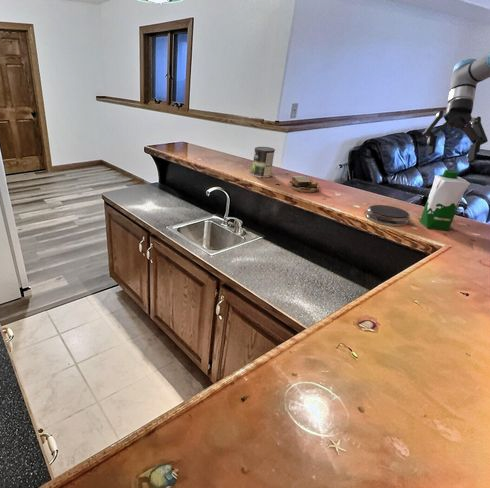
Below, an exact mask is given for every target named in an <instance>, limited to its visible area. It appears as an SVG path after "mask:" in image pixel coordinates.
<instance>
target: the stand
mask: <svg viewBox="0 0 490 488" xmlns="http://www.w3.org/2000/svg"><path fill="white" fill-rule="evenodd" d="M365 217H366V219H367V220H368V221H370V222H373V223H375V224H379V225H382V226H385V227H396V228H397V227H398V228H399V227H405V226H407V225H408V222H409V219H410V217H411V214H410V213H409V212H408V211H406V210H405V209H402V208H399V207H396V206H392V205H387V204H386V205H385V204H373V205H370V206H368V207H367V210H366V214H365Z"/></svg>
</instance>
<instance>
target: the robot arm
mask: <svg viewBox="0 0 490 488" xmlns="http://www.w3.org/2000/svg"><path fill="white" fill-rule="evenodd" d="M450 77H451V78H450V85H449V91H448V97H447V104H446V109H445V112H444V110H439V112H437V113H436V114H435V116H434V119H433V120H432V121H431V123H430V124H429V125H428V126H427V127H426V128H425V130H424V131H423V132H422V136H426V137H425V138H426V139H427V141H426V146H428V150H427V156H431V155H433V154H435V152H436V146H437V140H438V135H437V134H438V133H439V132H440V131H442V130H443V129H445V128H446V127H448V126H449V128H455V129H460V130H461V132H464V134H465V135H466V137H467V138H468V140H470V142H471V144H470V146H469V152H468V158H467V159H468V160H467V163H469V164H470V163H473V162H475V161H476V160H477V155H478V154H479V153H480V150H481V146H482V145H484V144H486V143H488V141H489V139H488V136H487V134H486V132H485V130H484V126H483V124H482V117H481V116H477V117H472V112H473V109H474V101H475V98H476V97H475V96H476V92H477V91H476V90H477V84H478V83H481V82H483V81H485V80H487V79H489V78H490V52H487V53H486V54H484V55H483V56H481V57H479V58H478V59H476V58H466V59H464V60H461V61H459V62H457V63H456V64H455V65H454V67H453V70H452V74H451V76H450ZM441 119H444V121H445V122H444V123H443V124H441V125H440V126H439V127H437V128H436V129H435V130H433V129H434V127H436V125H437V124H438V123H439V122H440V121H441ZM432 130H433V131H432Z"/></svg>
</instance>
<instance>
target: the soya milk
mask: <svg viewBox="0 0 490 488" xmlns="http://www.w3.org/2000/svg"><path fill="white" fill-rule="evenodd" d="M458 175H459V171H457V170H452V169H445V170H444V171H443V173H442V174H439V175H438V174H435V175H434V179H433V181H432V182H433V183H432V186H431V188H430V192H429V195H428V197H427V200H426V202H425V205H424V208H423V210H422V213H421V216H420V218H419V223H421V225H422V226H424V228H426V229H428V230H435V231H437V230H438V231H447V232H449V231H450V228H451V226H452V223H453V220H454V218H455V215H456V213H457V211H458V208H459V206H460V203H461V201H462V199H463V197H464V193H465V192H466V190H467V189H468V187H469V186H470V185H471V182H469V181H468V180H467V179H464V178H463V177H460V176H458Z"/></svg>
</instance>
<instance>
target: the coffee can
mask: <svg viewBox="0 0 490 488" xmlns="http://www.w3.org/2000/svg"><path fill="white" fill-rule="evenodd" d="M275 151H276V149H275V148H273V147H269V146H257V147H254V153H253V162H252V169H251V176H252V177H254V178H255V177H256V178H261V177H263V178H265V177H267V178H270V177H271V176H272V170H273V162H274V157H275ZM263 178H262V179H263ZM265 179H266V178H265Z"/></svg>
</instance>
